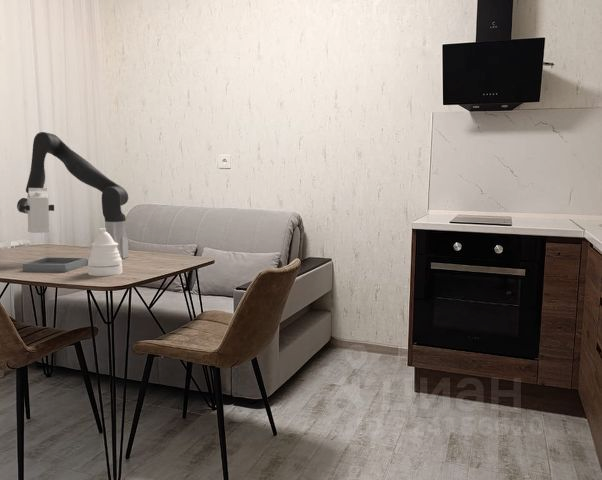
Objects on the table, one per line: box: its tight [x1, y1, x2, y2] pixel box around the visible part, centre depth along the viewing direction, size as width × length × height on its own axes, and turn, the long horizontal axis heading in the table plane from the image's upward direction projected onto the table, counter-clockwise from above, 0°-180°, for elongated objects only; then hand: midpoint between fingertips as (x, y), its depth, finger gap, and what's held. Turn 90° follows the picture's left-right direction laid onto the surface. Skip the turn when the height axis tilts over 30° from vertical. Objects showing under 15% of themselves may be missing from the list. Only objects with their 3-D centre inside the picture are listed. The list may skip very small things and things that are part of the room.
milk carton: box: [27, 187, 50, 234], centre depth 236 cm, size 7×7×19 cm
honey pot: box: [87, 227, 123, 277], centre depth 219 cm, size 13×13×18 cm
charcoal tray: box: [22, 256, 88, 273], centre depth 230 cm, size 18×18×3 cm
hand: (38, 208), depth 235 cm, fingers closed on milk carton, 7 cm apart
